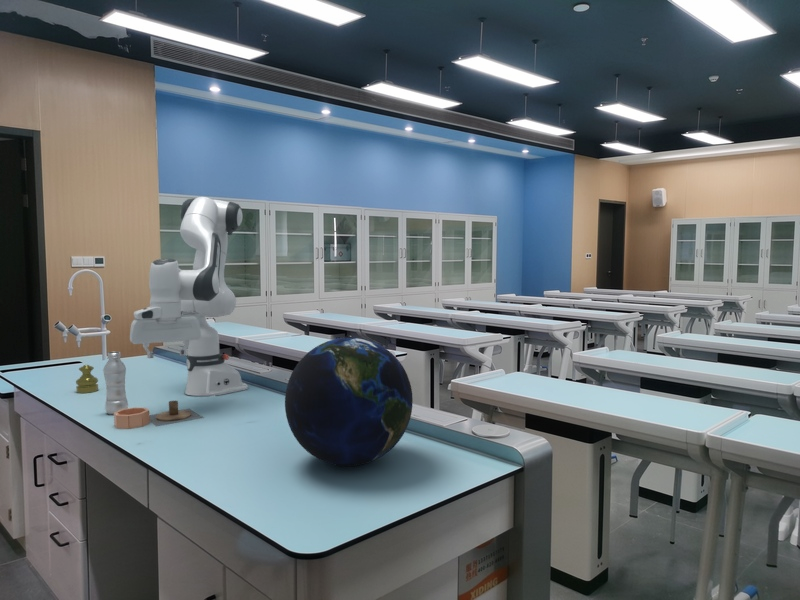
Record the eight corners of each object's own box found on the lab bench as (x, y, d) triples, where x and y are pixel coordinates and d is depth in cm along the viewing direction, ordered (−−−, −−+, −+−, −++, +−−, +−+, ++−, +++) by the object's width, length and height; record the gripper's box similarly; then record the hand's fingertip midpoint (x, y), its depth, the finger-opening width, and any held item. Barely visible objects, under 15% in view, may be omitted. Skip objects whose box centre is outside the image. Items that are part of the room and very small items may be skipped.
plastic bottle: (133, 412, 185) (130, 351, 183) (114, 418, 179) (111, 354, 177) (119, 410, 187) (116, 350, 186) (100, 415, 181) (97, 353, 180)
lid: (185, 410, 184) (184, 396, 184) (195, 417, 176) (195, 401, 176) (152, 416, 178) (151, 401, 178) (161, 423, 170) (161, 407, 170)
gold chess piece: (86, 394, 212) (84, 367, 211) (71, 392, 215) (70, 366, 214) (103, 389, 219) (101, 364, 218) (88, 388, 221) (87, 362, 221)
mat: (189, 410, 187) (189, 408, 187) (204, 419, 176) (204, 417, 176) (144, 418, 178) (144, 416, 178) (156, 428, 167) (156, 426, 167)
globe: (304, 496, 118) (300, 352, 115) (275, 452, 145) (271, 334, 143) (435, 473, 129) (433, 341, 127) (385, 436, 157) (383, 327, 155)
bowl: (144, 420, 176) (143, 405, 176) (152, 426, 169) (151, 411, 169) (112, 425, 170) (111, 411, 170) (119, 432, 163) (118, 417, 163)
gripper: (197, 309, 184) (198, 352, 184) (128, 312, 172) (129, 358, 173) (203, 310, 179) (204, 354, 179) (131, 313, 167) (133, 360, 168)
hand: (166, 356), depth 176 cm, fingers open, 8 cm apart
